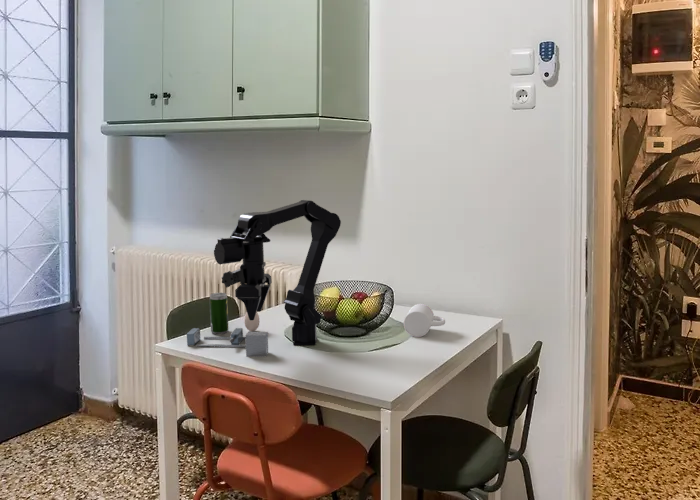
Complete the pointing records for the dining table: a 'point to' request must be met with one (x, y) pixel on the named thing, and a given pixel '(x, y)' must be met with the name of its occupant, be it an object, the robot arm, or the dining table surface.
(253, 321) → the egg
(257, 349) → the steel block
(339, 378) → the dining table surface
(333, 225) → the robot arm
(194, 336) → the vise bed
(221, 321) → the green soda can
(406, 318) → the mug
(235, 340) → the block
